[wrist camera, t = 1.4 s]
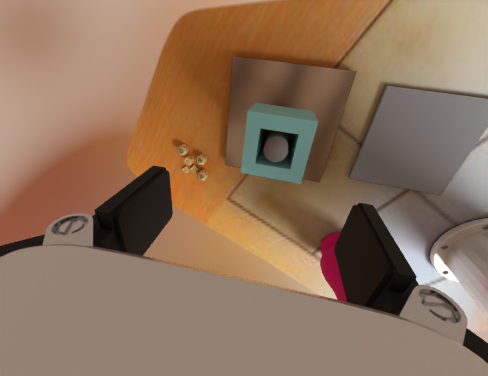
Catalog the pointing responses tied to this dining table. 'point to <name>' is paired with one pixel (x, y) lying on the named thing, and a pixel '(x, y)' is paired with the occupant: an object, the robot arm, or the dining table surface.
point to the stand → (286, 95)
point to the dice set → (189, 160)
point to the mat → (419, 138)
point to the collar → (283, 121)
